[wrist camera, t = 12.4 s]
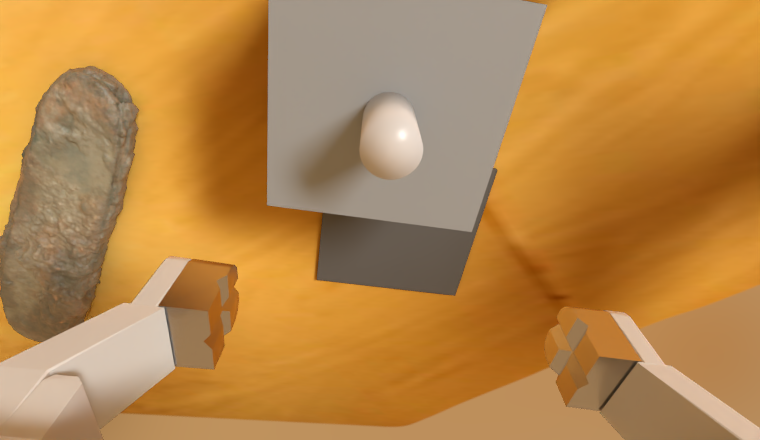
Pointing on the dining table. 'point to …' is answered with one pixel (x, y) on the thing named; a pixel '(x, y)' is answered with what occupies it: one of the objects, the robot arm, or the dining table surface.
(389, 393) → the dining table surface
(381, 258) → the mat
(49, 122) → the elongated rock
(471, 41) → the cover
